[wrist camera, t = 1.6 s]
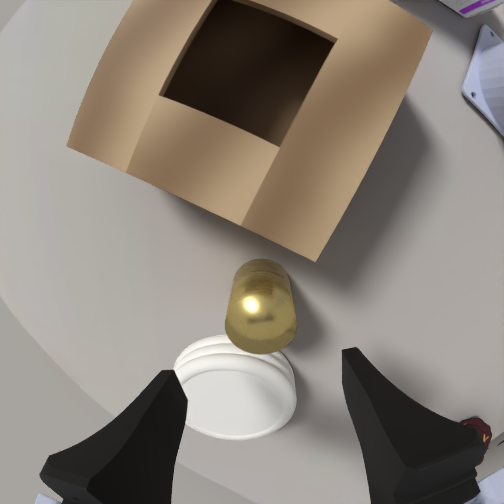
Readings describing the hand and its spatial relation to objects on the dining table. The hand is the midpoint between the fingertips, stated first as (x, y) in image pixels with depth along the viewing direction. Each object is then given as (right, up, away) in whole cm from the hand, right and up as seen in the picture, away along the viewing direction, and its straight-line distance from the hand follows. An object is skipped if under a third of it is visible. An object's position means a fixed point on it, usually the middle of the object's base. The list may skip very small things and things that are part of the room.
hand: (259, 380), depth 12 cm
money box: (0, +15, +4) cm, 15 cm away
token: (0, +3, +8) cm, 9 cm away
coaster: (-2, -5, +12) cm, 13 cm away
